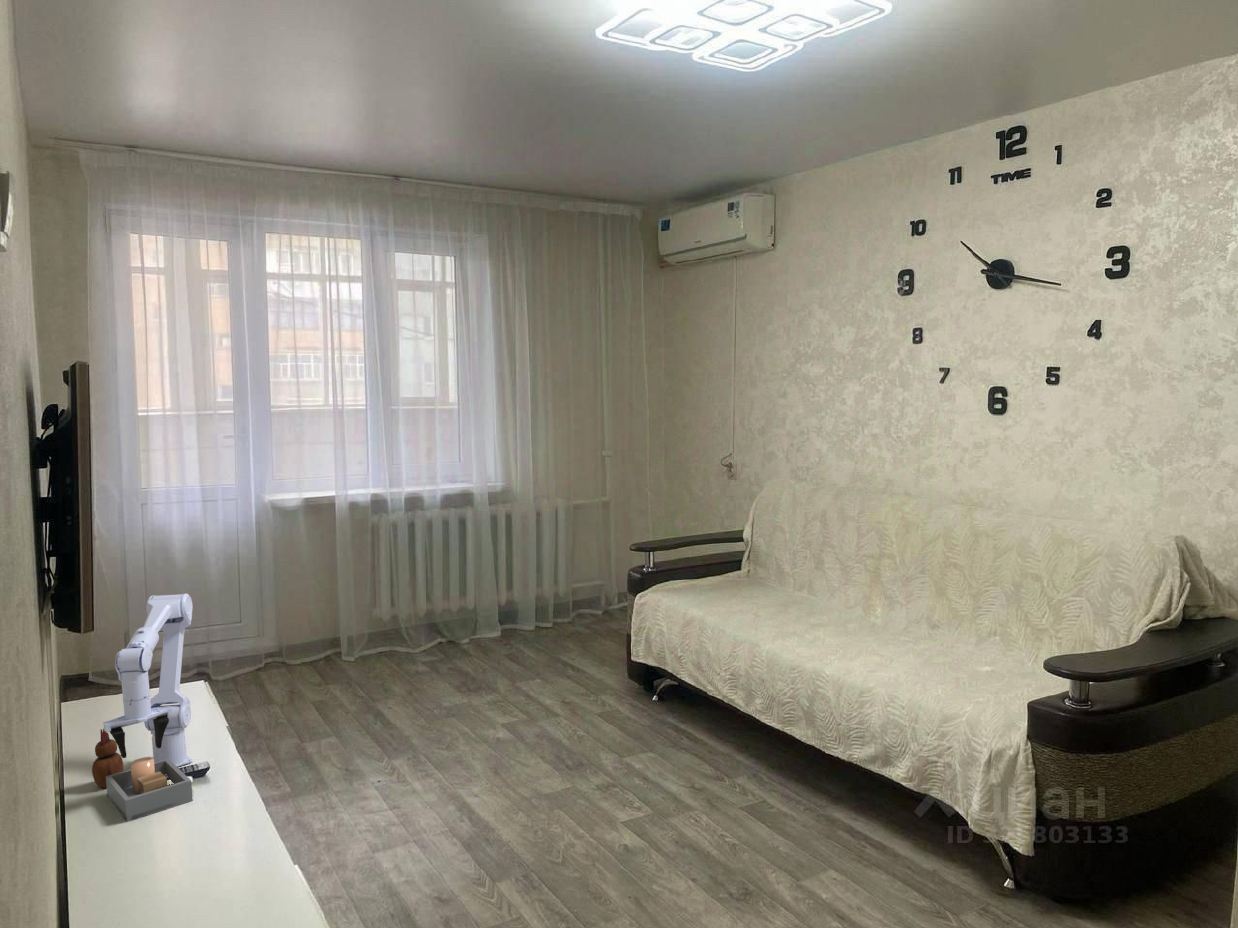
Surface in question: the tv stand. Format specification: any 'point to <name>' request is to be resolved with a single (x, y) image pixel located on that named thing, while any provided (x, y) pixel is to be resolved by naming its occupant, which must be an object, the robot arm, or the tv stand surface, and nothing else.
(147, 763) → the terracotta cylinder
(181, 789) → the tote
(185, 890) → the tv stand surface
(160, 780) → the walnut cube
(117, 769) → the wooden figurine
